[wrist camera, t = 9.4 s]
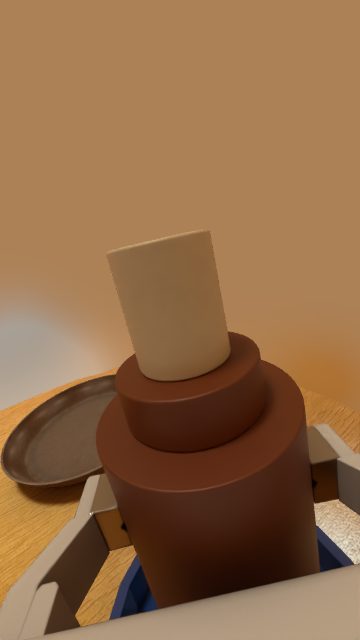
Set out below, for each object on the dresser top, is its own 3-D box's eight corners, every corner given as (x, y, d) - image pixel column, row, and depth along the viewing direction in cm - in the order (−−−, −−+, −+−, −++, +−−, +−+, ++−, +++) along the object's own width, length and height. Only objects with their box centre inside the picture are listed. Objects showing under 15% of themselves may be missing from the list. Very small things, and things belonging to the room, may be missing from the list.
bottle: (371, 739, 9) (365, 187, 4) (195, 800, 9) (-56, 282, 4) (281, 541, 15) (234, 225, 10) (176, 572, 15) (73, 262, 10)
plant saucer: (194, 399, 38) (189, 380, 37) (80, 544, 22) (67, 517, 21) (101, 382, 49) (96, 367, 48) (-18, 469, 33) (-29, 449, 32)
